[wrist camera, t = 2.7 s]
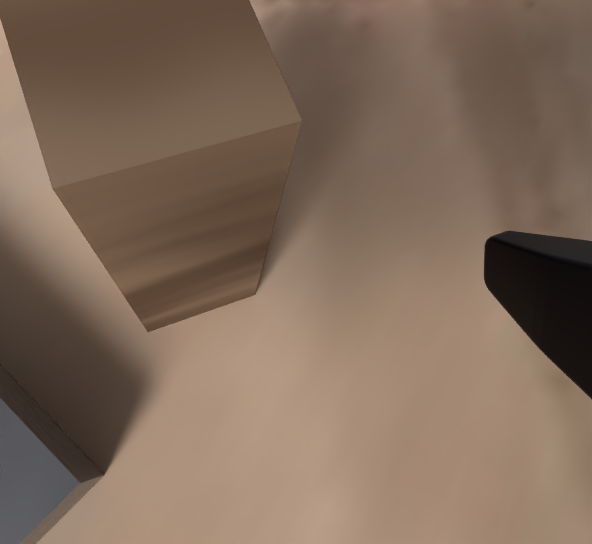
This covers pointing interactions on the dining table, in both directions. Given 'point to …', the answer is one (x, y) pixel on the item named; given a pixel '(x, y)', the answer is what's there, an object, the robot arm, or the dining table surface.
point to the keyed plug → (160, 140)
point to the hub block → (36, 468)
